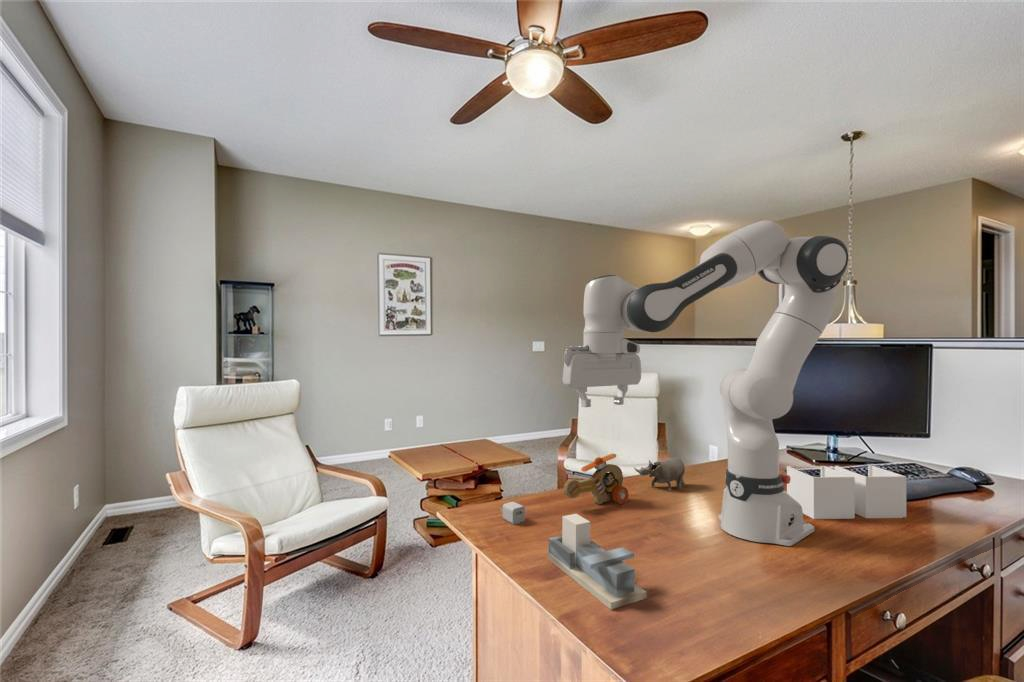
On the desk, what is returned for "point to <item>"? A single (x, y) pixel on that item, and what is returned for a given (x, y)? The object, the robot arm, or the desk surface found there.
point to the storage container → (849, 493)
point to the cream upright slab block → (575, 532)
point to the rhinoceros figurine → (665, 472)
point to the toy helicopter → (600, 482)
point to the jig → (599, 571)
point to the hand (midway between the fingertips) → (602, 405)
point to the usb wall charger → (513, 512)
